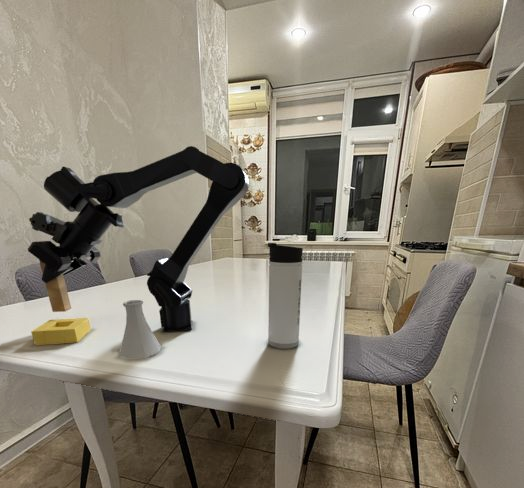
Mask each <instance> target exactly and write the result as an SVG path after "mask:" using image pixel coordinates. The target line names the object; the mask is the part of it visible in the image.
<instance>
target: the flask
mask: <svg viewBox="0 0 524 488" xmlns="http://www.w3.org/2000/svg"><path fill="white" fill-rule="evenodd" d="M143 304H144V301H143V300H140V299H131V300H126V301H123V302H122V306H123V307H124V308H125V313H126V318H125V319H126V320H125V328H124V333H123V338H122V342H121V345H120V350H119V355H118V356H119V357H122V358H124V359H128V360H136V359H137V360H138V359H147V358H149V357H152V356H153V355H156V354H158V353H160V352H159V351H160V350H161V348H162V346H161V344H160V343H159V341H158V339H157V337H156V335H155V333H154V332H153V331H152V329H151V326H150V325H149V324H148V321H147V320H146V316H145V313H144V311H143Z"/></svg>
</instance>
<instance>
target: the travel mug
mask: <svg viewBox="0 0 524 488" xmlns="http://www.w3.org/2000/svg"><path fill="white" fill-rule="evenodd" d="M267 247H268V248H269V260H268V264H269V265H268V330H267V331H268V332H267V333H268V337H267V338H268V339H267V340H268V345H269V346H271V347H273V348H275V349H280V350H289V349H293V348H296V347H297V346H298V345H299V342H300V338H299V336H300V324H301V323H300V322H301V321H300V320H301V299H302V282H303V255H304V254H303V253H304V249H303V247H298V246H297V247H296V246H290V245H289V246H288V245H287V246H286V245H280V244H277V243H276V242H267Z"/></svg>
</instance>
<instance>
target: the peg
mask: <svg viewBox="0 0 524 488" xmlns="http://www.w3.org/2000/svg"><path fill="white" fill-rule="evenodd" d="M38 261H39V266H40V269H41V270H40V271H41V273H42V275H43V271H44V267H45V263H43V262H42V261H41V260H39V259H38ZM44 285H45V289H46V293H47V296H48V299H49V303H50V306H51V311H52V312H53V313H62V312H67V311H69V310H71V309H72V304H71V301H70V296H69V293H68V288H67V284H66V280H65V276H63V274H62V275H60V276H59V277H57V278H55V279H53V280H51V281H49V282H47V283H45V282H44Z"/></svg>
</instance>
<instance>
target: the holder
mask: <svg viewBox="0 0 524 488" xmlns="http://www.w3.org/2000/svg"><path fill="white" fill-rule="evenodd" d="M91 330H92V327H91V324H90V319H89V317H79V318H78V317H77V318H60V319H59V318H58V319H57V318H56V319H50V320H47V321H46V322H44V323H43V324H41V325H39V326H38V327H36V328H35V329H33V330H31V332H30V333H31V336H32V340H33V343H34V345H35V346H43V345H57V344H58V345H60V344H72V343H79V342H80V341H81V340H82V339H83V338H84V337H85V336H86V335H87V334H89V333H90V331H91Z"/></svg>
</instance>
